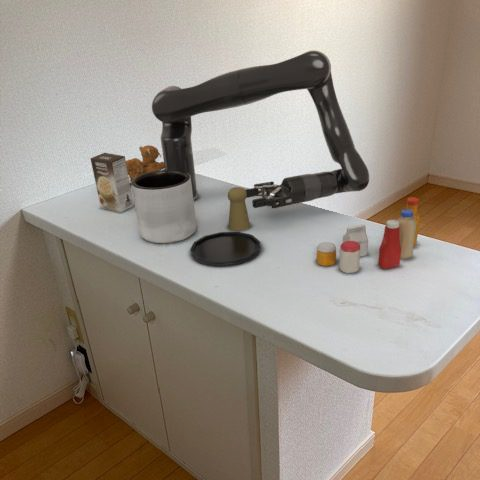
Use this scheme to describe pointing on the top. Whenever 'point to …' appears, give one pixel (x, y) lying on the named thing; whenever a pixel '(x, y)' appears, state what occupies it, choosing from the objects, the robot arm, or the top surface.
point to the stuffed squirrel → (144, 162)
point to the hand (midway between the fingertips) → (247, 199)
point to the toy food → (392, 247)
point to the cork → (238, 209)
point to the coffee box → (112, 182)
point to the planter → (164, 206)
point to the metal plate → (225, 249)
